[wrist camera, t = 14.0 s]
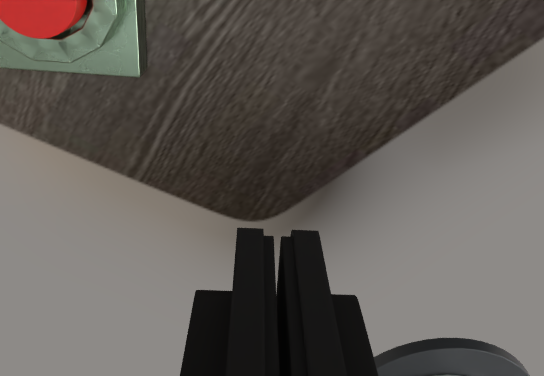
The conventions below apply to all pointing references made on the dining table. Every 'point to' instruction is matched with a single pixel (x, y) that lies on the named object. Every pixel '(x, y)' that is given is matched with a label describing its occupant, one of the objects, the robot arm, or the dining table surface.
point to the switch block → (85, 43)
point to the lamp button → (41, 16)
